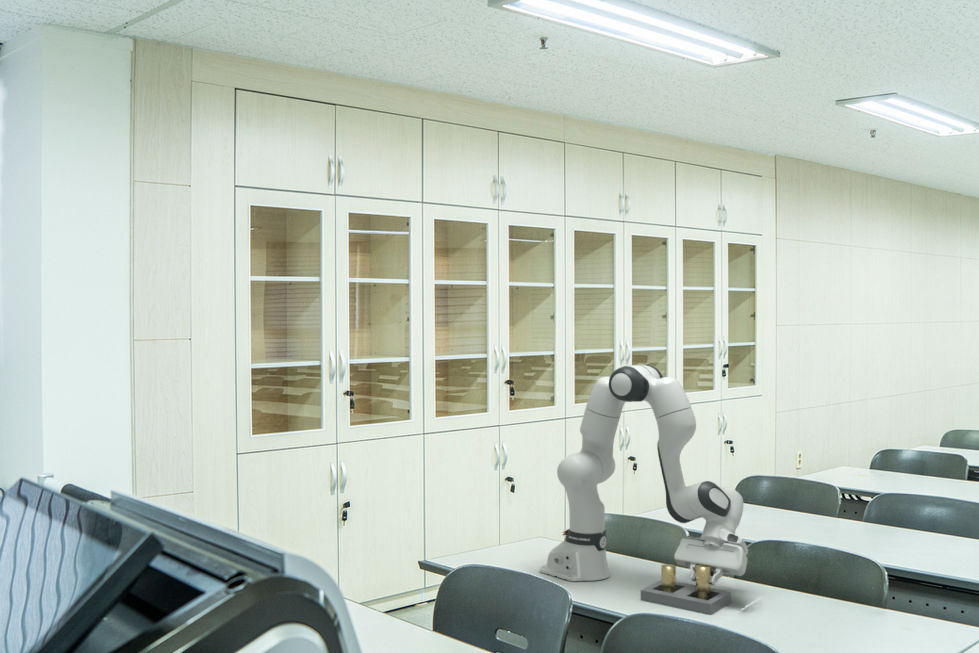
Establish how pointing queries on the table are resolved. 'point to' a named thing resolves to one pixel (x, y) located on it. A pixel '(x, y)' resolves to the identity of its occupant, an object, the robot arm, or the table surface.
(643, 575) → the table surface
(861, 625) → the table surface
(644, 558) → the table surface
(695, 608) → the tray
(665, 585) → the seated brass billet
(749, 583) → the table surface
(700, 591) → the brass billet
